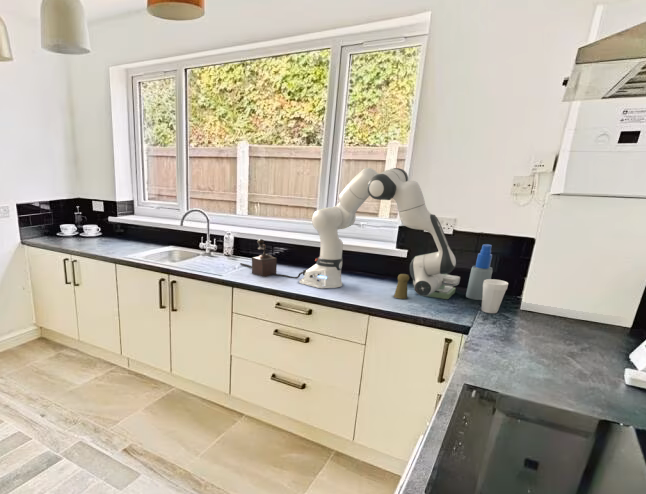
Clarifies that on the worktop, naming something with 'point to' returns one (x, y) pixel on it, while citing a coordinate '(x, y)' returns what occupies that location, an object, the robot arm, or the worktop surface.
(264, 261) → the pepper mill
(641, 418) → the worktop surface
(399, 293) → the pepper shaker
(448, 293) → the scale
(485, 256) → the spray bottle
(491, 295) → the foam cup
